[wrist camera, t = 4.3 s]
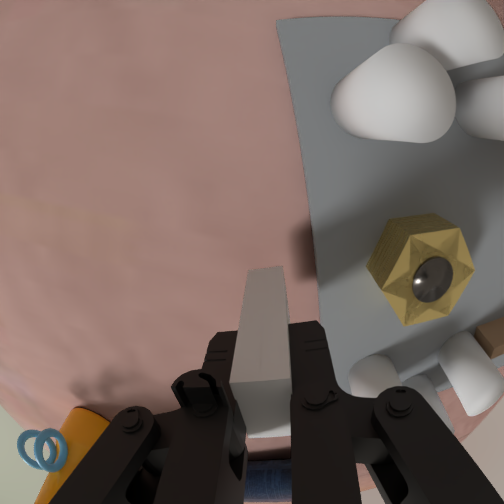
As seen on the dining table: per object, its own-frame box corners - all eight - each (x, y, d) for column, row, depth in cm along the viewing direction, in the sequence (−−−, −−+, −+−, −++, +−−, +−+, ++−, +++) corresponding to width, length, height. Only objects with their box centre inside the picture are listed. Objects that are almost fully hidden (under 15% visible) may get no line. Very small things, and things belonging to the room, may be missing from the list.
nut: (363, 222, 13) (382, 240, 10) (453, 210, 12) (481, 225, 10) (365, 304, 14) (379, 333, 12) (447, 287, 14) (468, 310, 11)
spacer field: (276, 26, 10) (278, -38, 5) (546, 66, 8) (600, 65, 3) (323, 411, 19) (332, 476, 13) (522, 348, 16) (552, 387, 11)
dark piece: (328, 420, 22) (206, 435, 24) (330, 490, 14) (180, 494, 17) (344, 471, 23) (239, 482, 26) (345, 528, 15) (223, 533, 18)
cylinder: (158, 463, 24) (127, 572, 11) (83, 443, 25) (43, 533, 11) (117, 395, 20) (50, 545, 6) (35, 374, 21) (-35, 479, 7)
